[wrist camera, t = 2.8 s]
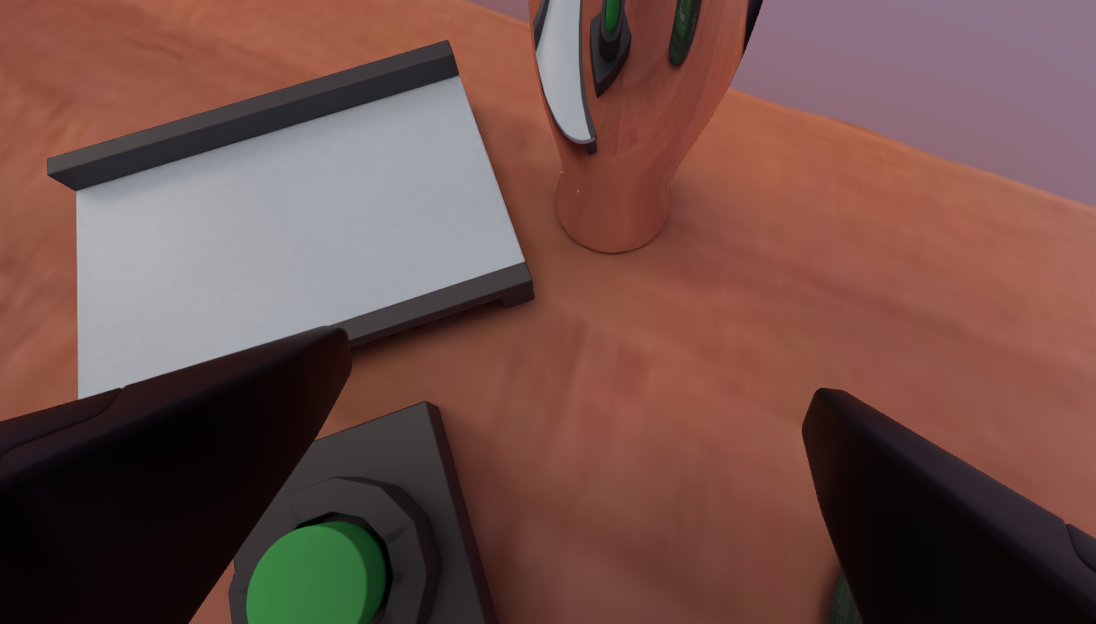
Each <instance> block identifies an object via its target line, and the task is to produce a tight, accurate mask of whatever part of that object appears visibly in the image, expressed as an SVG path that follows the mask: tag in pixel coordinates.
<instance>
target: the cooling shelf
mask: <svg viewBox="0 0 1096 624" xmlns="http://www.w3.org/2000/svg"><path fill="white" fill-rule="evenodd" d="M47 175H48V176H50V177H51V178H53V179H55V180H57V181H58V182H60V183H62V184H64V185H66V186H67V187H69V188H71V189H73V190H74V191H76V206H77V321H78V400H79V399H82V398H86V397H89V396H92V395H96V394H99V393H102V392H106V391H109V390H112V389H115V388H122V389H123V388H124V387H125V386H126V385H129V384H132V383H136V382H139V381H142V380H145V379H149V378H152V377H155V376H159V375H162V374H165V373H168V372H172V371H175V370H178V369H182V368H185V367H188V366H192V365H195V364H198V363H201V362H205V361H208V360H211V359H215V358H218V357H221V356H224V355H228V354H231V353H234V352H238V351H241V350H244V349H248V348H251V347H254V346H257V345H261V344H264V343H267V342H271V341H274V340H277V339H280V338H284V337H287V336H290V335H294V334H297V333H300V332H303V331H307V330H310V329H313V328H317V327H320V326H324V325H328V326H336V327H342V328H344V329H345V330H346V331H347V333H348V338H349V345H350V348H352V347H355V346H358V345H361V344H364V343H367V342H370V341H373V340H376V339H379V338H382V337H385V336H388V335H391V334H394V333H397V332H400V331H403V330H406V329H409V328H412V327H415V326H418V325H421V324H424V323H427V322H430V321H433V320H436V319H439V318H442V317H445V316H448V315H451V314H454V313H457V312H460V311H463V310H466V309H469V308H472V307H475V306H478V305H482V304H485V303H488V302H491V301H494V300H497V299H500V298H501V300H502V302H503V305H504V307H505V308H508V307H511V306H514V305H517V304H520V303H523V302H526V301H529V300H532V299H534V298H535V296H534V291H533V282H532V278H531V276H530V273H529V270H528V267H527V264H526V262H525V259H524V256H523V253H522V251H521V248H520V245H519V242H518V239H517V236H516V234H515V231H514V228H513V225H512V222H511V220H510V217H509V214H508V211H507V208H506V205H505V203H504V200H503V197H502V194H501V191H500V189H499V186H498V183H497V180H496V177H495V174H494V172H493V169H492V166H491V163H490V160H489V157H488V155H487V152H486V149H485V146H484V143H483V141H482V138H481V135H480V132H479V129H478V126H477V124H476V121H475V118H474V115H473V112H472V110H471V107H470V104H469V101H468V98H467V95H466V93H465V90H464V87H463V84H462V81H461V78H460V76H459V72H458V69H457V65H456V62H455V58H454V54H453V52H452V49H451V46H450V43H449V41H448V40H445V41H442V42H439V43H435V44H432V45H429V46H425V47H422V48H419V49H415V50H412V51H408V52H405V53H402V54H398V55H395V56H392V57H388V58H385V59H382V60H378V61H375V62H371V63H368V64H365V65H361V66H358V67H355V68H351V69H348V70H344V71H341V72H338V73H334V74H331V75H328V76H324V77H321V78H318V79H314V80H311V81H307V82H304V83H301V84H297V85H294V86H291V87H287V88H284V89H281V90H277V91H274V92H270V93H267V94H264V95H260V96H257V97H254V98H250V99H247V100H244V101H240V102H237V103H233V104H230V105H227V106H223V107H220V108H217V109H213V110H210V111H207V112H203V113H200V114H196V115H193V116H190V117H186V118H183V119H180V120H176V121H173V122H169V123H166V124H163V125H159V126H156V127H153V128H149V129H146V130H143V131H139V132H136V133H132V134H129V135H126V136H122V137H119V138H116V139H112V140H109V141H106V142H102V143H99V144H95V145H92V146H89V147H85V148H82V149H79V150H75V151H72V152H69V153H65V154H62V155H58V156H55V157H52V158H48V159H47Z"/></svg>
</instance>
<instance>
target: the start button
mask: <svg viewBox="0 0 1096 624" xmlns="http://www.w3.org/2000/svg"><path fill="white" fill-rule="evenodd" d="M385 586H386V566H385V560H384V557H383V553H382V551H381V549H380V547H379V545H378V543H377V542H376V540H375V539H374V538H373V537H372V535H371V534H370V533H368V532H367V531H366V530H365V529H363V528H362V527H360V526H358V525H356V524H353V523H350V522H344V521H333V522H327V523H322V524H317V525H312V526H307V527H303V528H299V529H296V530H294V531H292V532H290V533H288V534H286V535H285V536H283V537H282V538H280V539H279V540H278V541H276V542H275V543H274V544H273V545H272V546H271V547H270V548H269V549H268V550H267V552H266V553H265V554H264V555H263V557H262V558H261V560H260V561H259V563H258V565H257V567H256V568H255V570H254V573H253V575H252V578H251V580H250V584H249V588H248V593H247V603H246V610H247V619H248V624H369V623H370V622H371V620H372V619H373V618H374V616H375V614H376V612H377V611H378V609H379V606H380V604H381V602H382V599H383V595H384V591H385Z"/></svg>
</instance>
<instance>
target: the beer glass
mask: <svg viewBox="0 0 1096 624" xmlns="http://www.w3.org/2000/svg"><path fill="white" fill-rule="evenodd" d="M762 2H763V0H529V16H530V32H531V41H532V48H533V56H534V63H535V71H536V75H537V79H538V84H539V88H540V92H541V96H542V100H543V104H544V107H545V111H546V114H547V117H548V120H549V123H550V127H551V130H552V133H553V136H554V139H555V142H556V145H557V148H558V151H559V155H560V158H561V173H560V177H559V180H558V184H557V188H556V194H555V208H556V213H557V216H558V219H559V221H560V223H561V225H562V227H563V228H564V230H565V231H566V232H567V233H568V234H569V236H570V237H571V238H573V239H574V240H575V241H576V242H578V243H579V244H581V245H583V246H585V247H587V248H589V249H592V250H595V251H599V252H605V253H622V252H627V251H631V250H634V249H637V248H639V247H641V246H643V245H645V244H647V243H648V242H649V241H651V240H652V239H653V238H654V237H655V236H656V235H657V234H658V233H659V232H660V231H661V229H662V228H663V226H664V225H665V223H666V220H667V218H668V215H669V211H670V205H671V184H672V179H673V176H674V174H675V172H676V170H677V169H678V167H679V165H680V164H681V162H682V161H683V159H684V158H685V156H686V155H687V153H688V152H689V151H690V149H691V148H692V146H693V145H694V143H695V142H696V140H697V139H698V137H699V136H700V134H701V133H702V131H703V130H704V128H705V127H706V125H707V124H708V122H709V121H710V119H711V117H712V116H713V114H714V112H715V111H716V109H717V107H718V105H719V104H720V102H721V100H722V99H723V97H724V95H725V93H726V92H727V90H728V88H729V86H730V83H731V81H732V79H733V77H734V74H735V72H736V70H737V68H738V65H739V63H740V61H741V59H742V57H743V54H744V52H745V49H746V47H747V44H748V41H749V39H750V36H751V33H752V30H753V28H754V25H755V22H756V20H757V17H758V14H759V12H760V9H761V5H762Z"/></svg>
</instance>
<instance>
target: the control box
mask: <svg viewBox="0 0 1096 624" xmlns="http://www.w3.org/2000/svg"><path fill="white" fill-rule="evenodd" d="M333 521H344V522H350V523H353V524H356V525H358V526H360V527H362V528H363V529H365V530H366V531H367V532H368V533H370V534H371V535H372V537H373V538H374V539H375V540H376V542H377V543H378V545H379V547H380V549H381V551H382V553H383V557H384V560H385V566H386V586H385V591H384V595H383V599H382V602H381V604H380V606H379V609H378V611H377V612H376V614H375V616H374V618H373V619H372V620H371V622H370V623H369V624H498V621H497V618H496V614H495V610H494V607H493V603H492V600H491V596H490V592H489V589H488V585H487V582H486V578H485V574H484V571H483V567H482V564H481V560H480V556H479V553H478V549H477V546H476V542H475V538H474V535H473V531H472V527H471V524H470V520H469V517H468V513H467V509H466V506H465V502H464V499H463V495H462V491H461V488H460V484H459V481H458V477H457V473H456V470H455V466H454V463H453V459H452V455H451V452H450V448H449V445H448V441H447V437H446V434H445V430H444V427H443V423H442V419H441V416H440V412H439V409H438V407H437V406H435V405H433V404H431V403H429V402H427V401H423V402H421V403H418V404H415V405H412V406H409V407H407V408H404V409H401V410H398V411H396V412H393V413H390V414H387V415H385V416H382V417H379V418H376V419H373V420H371V421H368V422H365V423H362V424H360V425H357V426H354V427H351V428H348V429H346V430H343V431H340V432H337V433H335V434H332V435H329V436H326V437H324V438H321V439H318V440H315V441H313V443H312V444H311V446H310V447H309V449H308V450H307V452H306V453H305V455H304V456H303V457H302V459H301V460H300V462H299V463H298V465H297V466H296V468H295V469H294V471H293V472H292V473H291V475H290V476H289V478H288V479H287V481H286V482H285V484H284V485H283V487H282V488H281V490H280V491H279V492H278V494H277V495H276V497H275V498H274V500H273V501H272V503H271V504H270V506H269V507H268V508H267V510H266V511H265V513H264V514H263V516H262V517H261V519H260V520H259V522H258V523H257V524H256V526H255V527H254V529H253V530H252V532H251V533H250V535H249V536H248V538H247V539H246V541H245V542H244V543H243V545H242V546H241V548H240V549H239V551H238V552H237V554H236V555H235V557H234V558H233V559H234V567H235V574H234V577H233V579H232V582H231V585H230V588H229V593H228V594H229V602H230V611H231V619H232V624H248V619H247V610H246V603H247V593H248V588H249V584H250V580H251V578H252V575H253V573H254V570H255V568H256V567H257V565H258V563H259V561H260V560H261V558H262V557H263V555H264V554H265V553H266V552H267V550H268V549H269V548H270V547H271V546H272V545H273V544H274V543H275V542H276V541H278V540H279V539H280V538H282V537H283V536H285V535H286V534H288V533H290V532H292V531H294V530H296V529H299V528H303V527H307V526H312V525H317V524H322V523H327V522H333Z"/></svg>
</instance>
